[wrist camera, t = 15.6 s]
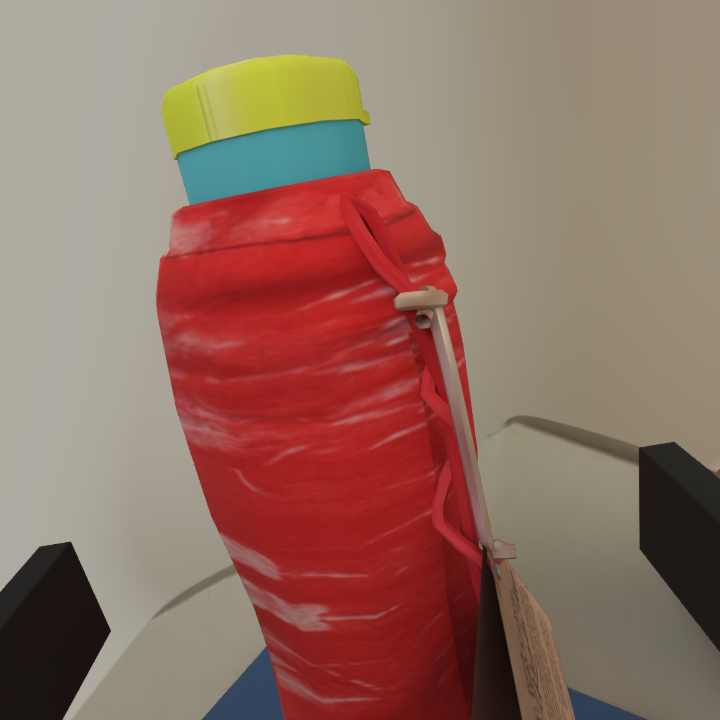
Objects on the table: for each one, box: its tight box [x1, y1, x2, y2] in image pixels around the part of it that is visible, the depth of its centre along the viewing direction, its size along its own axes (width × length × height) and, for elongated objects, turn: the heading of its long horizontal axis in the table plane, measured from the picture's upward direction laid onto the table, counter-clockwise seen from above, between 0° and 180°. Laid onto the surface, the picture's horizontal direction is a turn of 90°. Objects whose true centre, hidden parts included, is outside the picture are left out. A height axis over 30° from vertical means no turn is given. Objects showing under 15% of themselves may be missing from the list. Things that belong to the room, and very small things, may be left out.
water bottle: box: [156, 54, 575, 720], centre depth 14 cm, size 12×8×25 cm, turn 38°
